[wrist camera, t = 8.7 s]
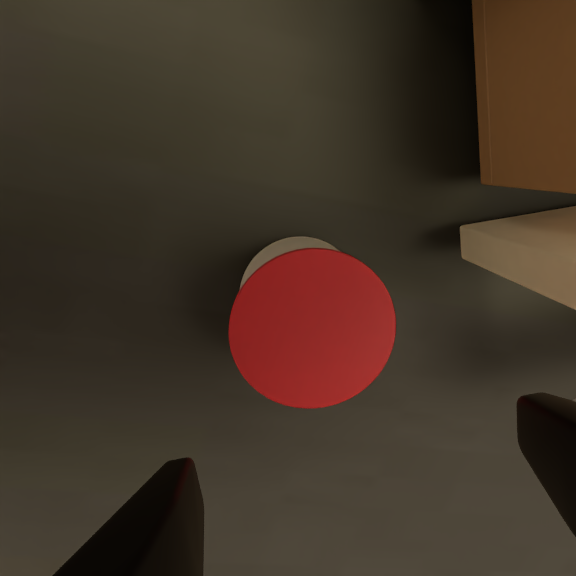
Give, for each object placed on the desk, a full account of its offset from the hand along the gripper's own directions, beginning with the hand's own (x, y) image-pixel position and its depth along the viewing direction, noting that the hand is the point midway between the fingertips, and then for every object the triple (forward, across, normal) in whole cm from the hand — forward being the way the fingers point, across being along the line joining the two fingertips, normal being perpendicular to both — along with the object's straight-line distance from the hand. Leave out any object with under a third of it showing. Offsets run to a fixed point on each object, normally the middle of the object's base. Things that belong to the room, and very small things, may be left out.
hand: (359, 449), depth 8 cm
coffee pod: (+10, 0, 0) cm, 10 cm away
